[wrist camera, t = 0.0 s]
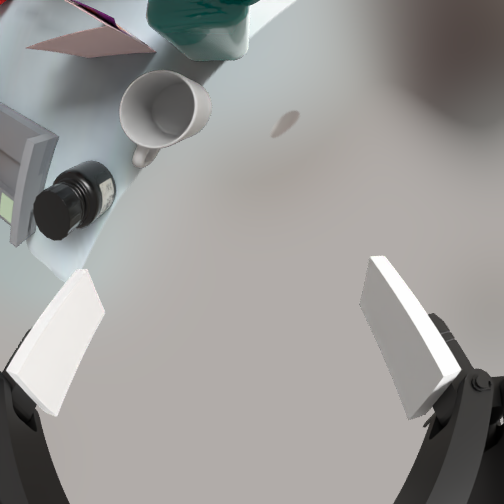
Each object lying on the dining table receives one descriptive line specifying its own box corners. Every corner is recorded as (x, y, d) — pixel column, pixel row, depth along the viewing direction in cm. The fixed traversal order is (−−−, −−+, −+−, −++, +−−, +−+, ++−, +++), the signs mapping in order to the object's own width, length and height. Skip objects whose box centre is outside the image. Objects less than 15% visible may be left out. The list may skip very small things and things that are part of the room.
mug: (170, 70, 29) (141, 57, 20) (224, 95, 31) (214, 88, 22) (132, 145, 34) (95, 160, 24) (182, 170, 36) (159, 192, 27)
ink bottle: (96, 224, 40) (58, 261, 29) (63, 189, 36) (19, 217, 26) (128, 185, 37) (90, 215, 27) (93, 146, 34) (45, 164, 23)
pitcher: (184, 63, 29) (110, 15, 10) (187, 11, 25) (129, -67, 5) (258, 61, 29) (273, -2, 10) (260, 9, 25) (274, -82, 6)
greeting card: (161, 47, 27) (114, 18, 14) (126, 87, 30) (65, 82, 17) (112, 15, 23) (57, -13, 10) (81, 52, 26) (18, 42, 13)
